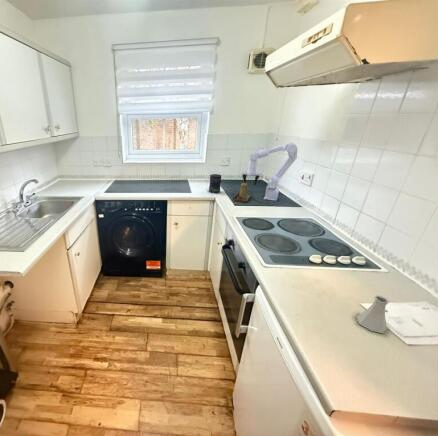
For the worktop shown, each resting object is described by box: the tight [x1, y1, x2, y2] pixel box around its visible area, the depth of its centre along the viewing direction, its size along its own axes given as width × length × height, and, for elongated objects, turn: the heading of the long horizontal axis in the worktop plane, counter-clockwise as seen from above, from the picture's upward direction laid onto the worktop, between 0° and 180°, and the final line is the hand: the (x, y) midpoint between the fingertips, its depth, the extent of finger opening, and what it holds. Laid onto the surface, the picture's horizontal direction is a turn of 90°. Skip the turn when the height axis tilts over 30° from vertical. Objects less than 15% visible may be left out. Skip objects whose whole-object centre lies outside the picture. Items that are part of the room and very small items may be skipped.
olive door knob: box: [239, 182, 249, 198], centre depth 191 cm, size 6×6×11 cm
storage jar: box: [208, 173, 222, 194], centre depth 211 cm, size 10×10×15 cm
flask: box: [356, 294, 390, 334], centre depth 73 cm, size 7×7×10 cm
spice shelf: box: [232, 190, 252, 204], centre depth 192 cm, size 10×18×4 cm, turn 148°
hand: (249, 184), depth 193 cm, fingers open, 7 cm apart
